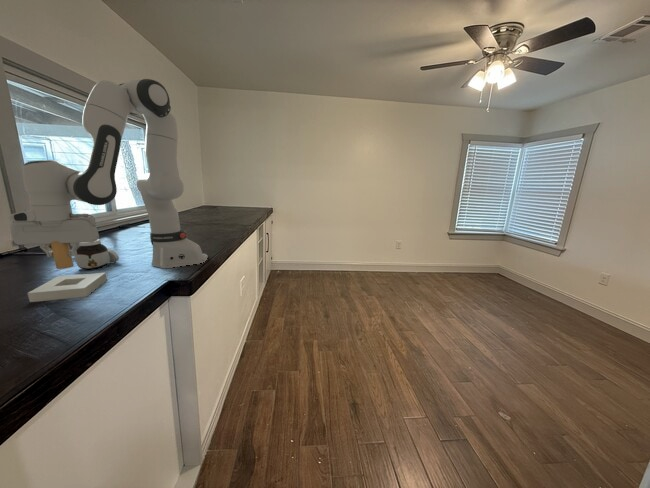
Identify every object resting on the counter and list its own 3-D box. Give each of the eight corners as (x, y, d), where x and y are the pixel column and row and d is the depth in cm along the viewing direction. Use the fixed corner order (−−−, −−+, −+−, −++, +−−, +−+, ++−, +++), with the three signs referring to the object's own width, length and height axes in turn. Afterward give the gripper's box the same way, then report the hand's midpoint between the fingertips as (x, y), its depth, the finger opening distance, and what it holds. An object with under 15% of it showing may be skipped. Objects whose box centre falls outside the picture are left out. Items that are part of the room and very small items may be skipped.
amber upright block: (76, 264, 87) (70, 238, 85) (69, 268, 83) (62, 241, 81) (61, 265, 86) (55, 239, 83) (53, 269, 82) (46, 242, 80)
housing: (107, 280, 95) (105, 272, 95) (86, 296, 82) (84, 287, 82) (59, 284, 91) (57, 276, 90) (30, 302, 78) (27, 293, 77)
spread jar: (74, 271, 103) (67, 243, 100) (91, 262, 114) (85, 237, 111) (110, 269, 106) (104, 242, 103) (122, 260, 117) (118, 235, 114)
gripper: (98, 212, 86) (106, 251, 90) (18, 213, 80) (29, 255, 83) (88, 214, 80) (96, 256, 84) (1, 215, 74) (14, 261, 78)
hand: (62, 256), depth 83 cm, fingers closed on amber upright block, 4 cm apart
